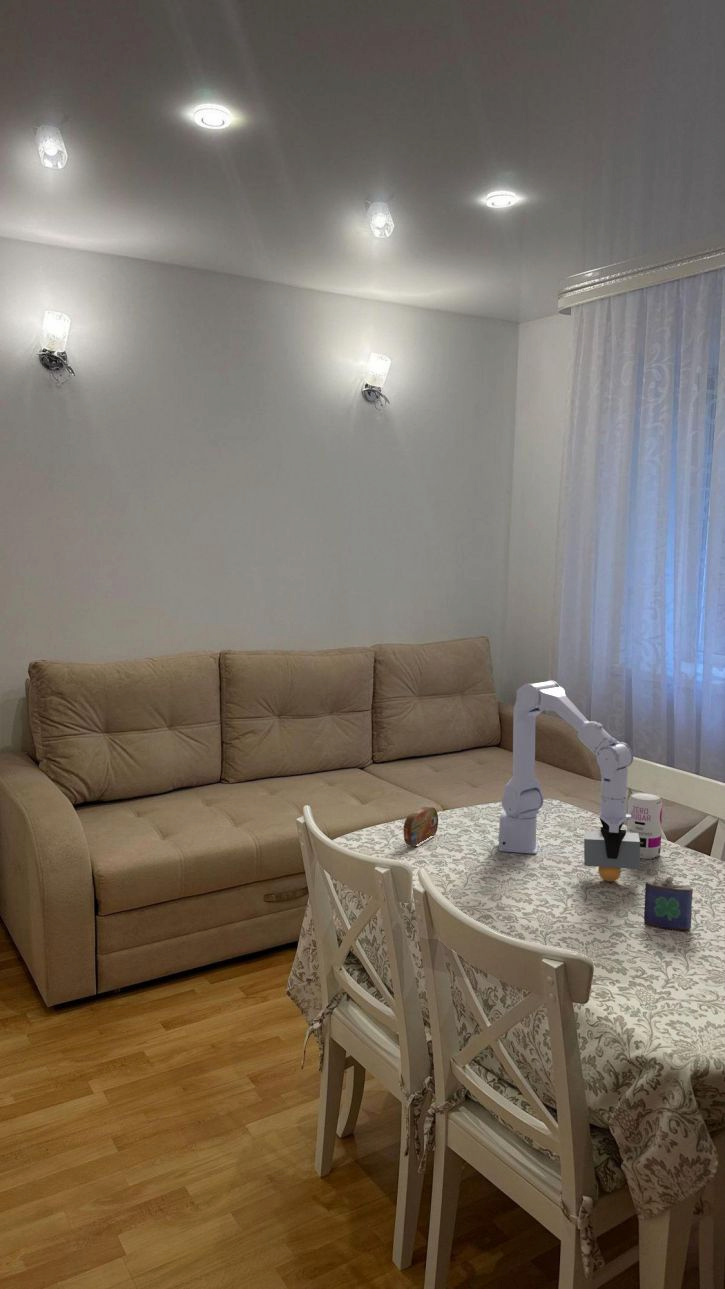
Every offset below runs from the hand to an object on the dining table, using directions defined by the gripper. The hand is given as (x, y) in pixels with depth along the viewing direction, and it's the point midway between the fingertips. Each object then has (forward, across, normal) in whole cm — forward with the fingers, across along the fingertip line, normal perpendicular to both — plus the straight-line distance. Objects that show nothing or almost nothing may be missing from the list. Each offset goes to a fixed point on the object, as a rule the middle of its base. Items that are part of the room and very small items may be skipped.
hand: (611, 853), depth 210 cm
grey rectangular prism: (+2, 0, 0) cm, 2 cm away
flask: (+7, -23, -10) cm, 26 cm away
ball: (+4, 0, 0) cm, 4 cm away
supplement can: (+7, +20, -8) cm, 23 cm away
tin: (+7, +16, +48) cm, 51 cm away
